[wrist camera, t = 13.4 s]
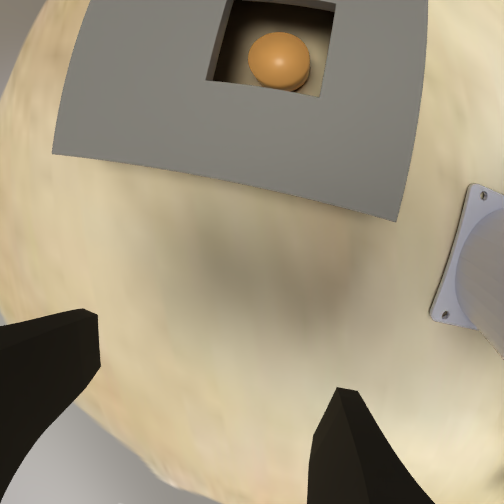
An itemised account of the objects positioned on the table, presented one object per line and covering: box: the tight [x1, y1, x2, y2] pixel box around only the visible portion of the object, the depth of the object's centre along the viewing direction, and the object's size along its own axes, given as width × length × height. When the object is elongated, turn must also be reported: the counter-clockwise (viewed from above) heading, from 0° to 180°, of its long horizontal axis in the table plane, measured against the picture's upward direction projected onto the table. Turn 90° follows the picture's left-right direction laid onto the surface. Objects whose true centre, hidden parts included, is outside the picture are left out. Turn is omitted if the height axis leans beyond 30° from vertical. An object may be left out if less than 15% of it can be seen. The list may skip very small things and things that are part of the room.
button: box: [248, 32, 310, 92], centre depth 13 cm, size 3×3×2 cm
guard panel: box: [52, 0, 428, 222], centre depth 12 cm, size 16×12×4 cm
